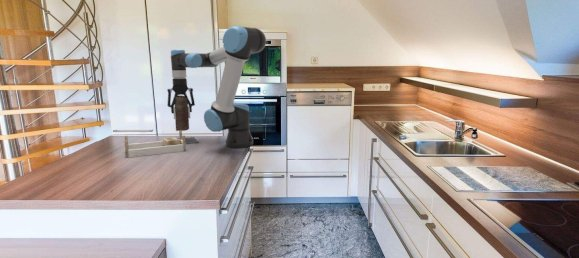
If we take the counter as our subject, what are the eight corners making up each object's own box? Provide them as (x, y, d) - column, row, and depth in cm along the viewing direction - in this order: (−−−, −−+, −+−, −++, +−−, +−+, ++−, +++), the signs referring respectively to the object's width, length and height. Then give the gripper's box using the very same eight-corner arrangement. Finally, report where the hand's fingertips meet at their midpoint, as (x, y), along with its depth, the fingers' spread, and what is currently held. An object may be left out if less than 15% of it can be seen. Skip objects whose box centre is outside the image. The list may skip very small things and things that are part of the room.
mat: (194, 137, 200) (193, 136, 200) (198, 142, 187) (198, 142, 187) (169, 139, 194) (169, 139, 194) (172, 145, 181) (172, 144, 181)
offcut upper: (174, 142, 178) (174, 137, 177) (179, 145, 172) (178, 139, 172) (163, 144, 174) (162, 138, 173) (167, 147, 169) (167, 141, 168)
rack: (182, 145, 182) (181, 130, 180) (186, 150, 171) (185, 135, 169) (126, 150, 170) (124, 135, 169) (126, 157, 159) (124, 141, 157)
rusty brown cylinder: (184, 128, 194) (182, 94, 190) (192, 130, 190) (190, 95, 186) (173, 130, 188) (170, 96, 184) (181, 132, 184) (178, 96, 180)
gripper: (196, 77, 190) (198, 116, 195) (159, 78, 182) (162, 118, 187) (199, 78, 184) (201, 118, 189) (160, 78, 175) (164, 120, 180)
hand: (182, 118), depth 188 cm, fingers closed on rusty brown cylinder, 7 cm apart
